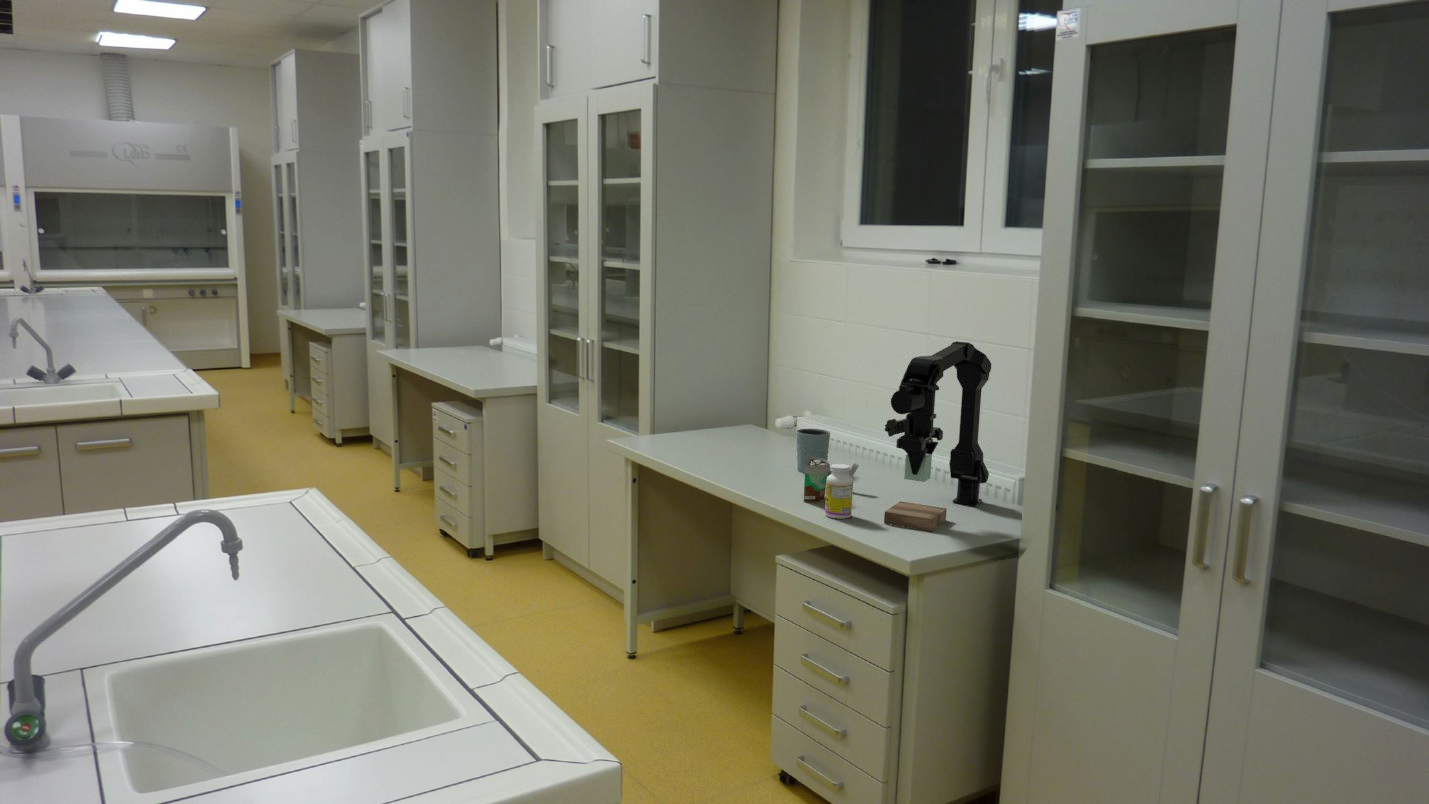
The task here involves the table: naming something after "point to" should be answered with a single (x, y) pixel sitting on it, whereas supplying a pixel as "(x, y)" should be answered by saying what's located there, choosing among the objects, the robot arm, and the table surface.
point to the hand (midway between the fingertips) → (918, 472)
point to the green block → (923, 472)
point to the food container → (815, 479)
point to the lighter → (853, 469)
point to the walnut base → (915, 516)
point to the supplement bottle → (839, 492)
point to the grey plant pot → (811, 446)
